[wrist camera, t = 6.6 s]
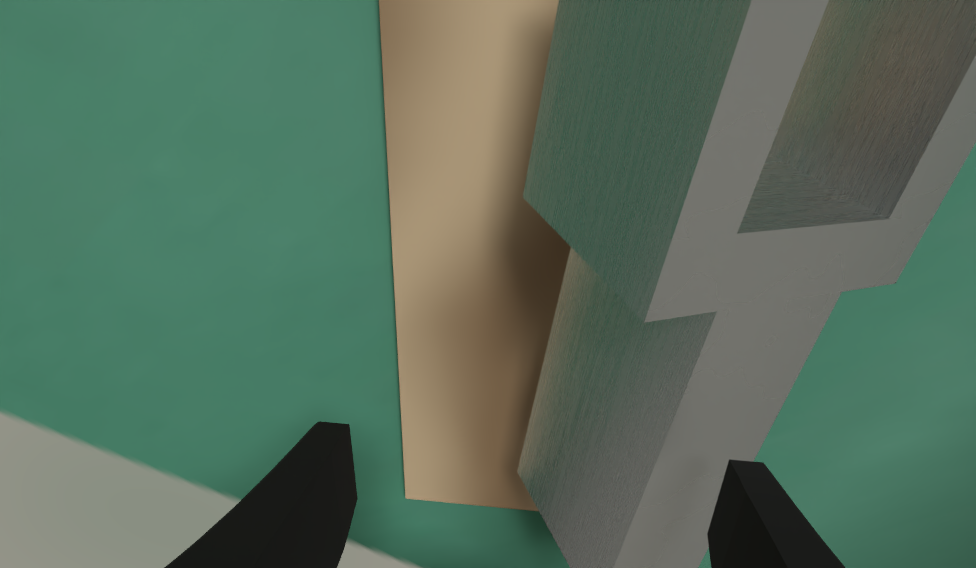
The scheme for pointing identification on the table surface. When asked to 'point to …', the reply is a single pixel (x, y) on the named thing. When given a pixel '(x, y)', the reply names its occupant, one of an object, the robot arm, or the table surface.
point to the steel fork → (718, 234)
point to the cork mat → (467, 239)
